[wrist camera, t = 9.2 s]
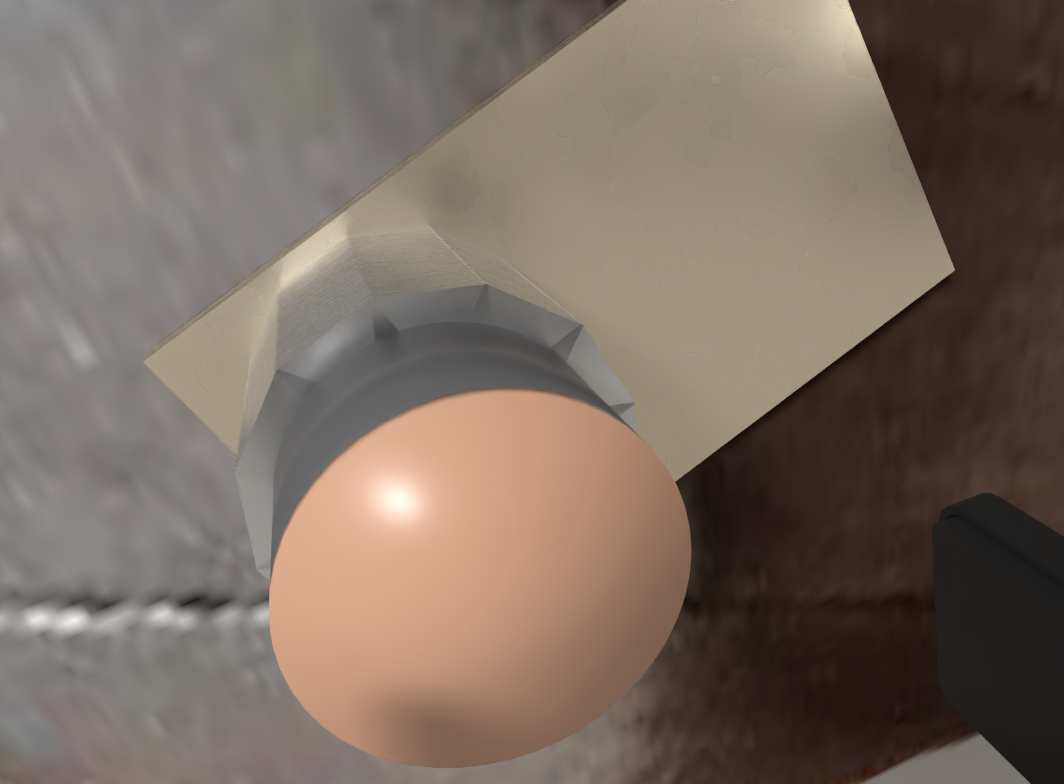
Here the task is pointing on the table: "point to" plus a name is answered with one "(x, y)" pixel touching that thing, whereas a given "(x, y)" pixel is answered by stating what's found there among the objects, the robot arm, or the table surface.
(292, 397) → the cylinder on base plate
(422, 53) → the table surface
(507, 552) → the peach ball on collar
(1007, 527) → the robot arm
